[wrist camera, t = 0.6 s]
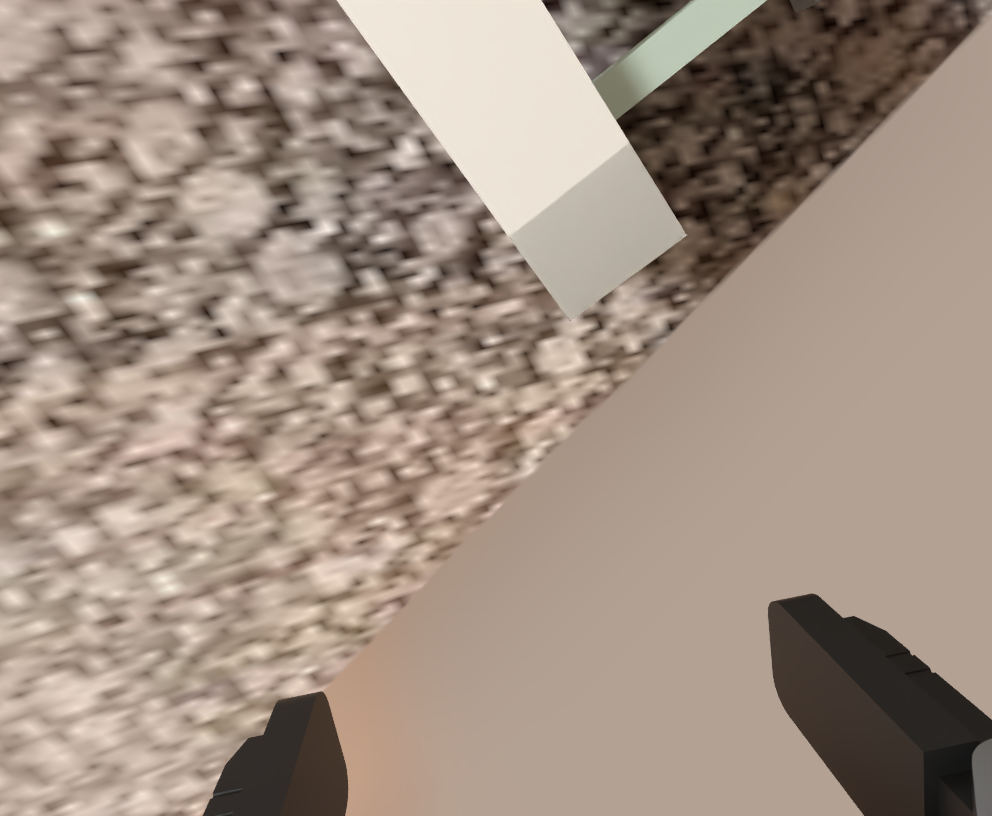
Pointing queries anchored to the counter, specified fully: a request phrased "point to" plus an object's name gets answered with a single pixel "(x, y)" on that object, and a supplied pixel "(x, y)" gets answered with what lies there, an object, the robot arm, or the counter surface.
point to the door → (672, 49)
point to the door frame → (526, 136)
